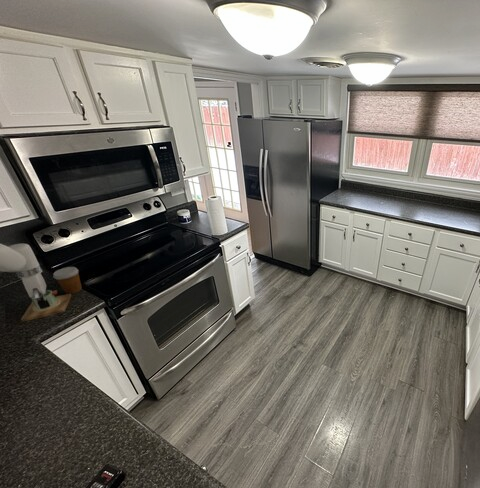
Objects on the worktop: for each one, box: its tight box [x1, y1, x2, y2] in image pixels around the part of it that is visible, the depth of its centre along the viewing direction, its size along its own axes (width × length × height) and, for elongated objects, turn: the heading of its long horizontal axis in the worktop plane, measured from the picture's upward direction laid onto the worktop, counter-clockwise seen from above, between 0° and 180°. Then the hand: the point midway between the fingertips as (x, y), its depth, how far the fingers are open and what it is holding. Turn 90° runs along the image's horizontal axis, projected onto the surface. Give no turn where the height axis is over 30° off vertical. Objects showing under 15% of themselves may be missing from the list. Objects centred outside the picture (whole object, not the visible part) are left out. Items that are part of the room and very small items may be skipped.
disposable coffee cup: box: [52, 266, 83, 295], centre depth 135 cm, size 10×10×12 cm
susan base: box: [20, 293, 72, 323], centre depth 124 cm, size 14×14×2 cm
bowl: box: [30, 289, 61, 312], centre depth 123 cm, size 10×10×6 cm
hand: (46, 303), depth 123 cm, fingers closed on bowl, 7 cm apart
